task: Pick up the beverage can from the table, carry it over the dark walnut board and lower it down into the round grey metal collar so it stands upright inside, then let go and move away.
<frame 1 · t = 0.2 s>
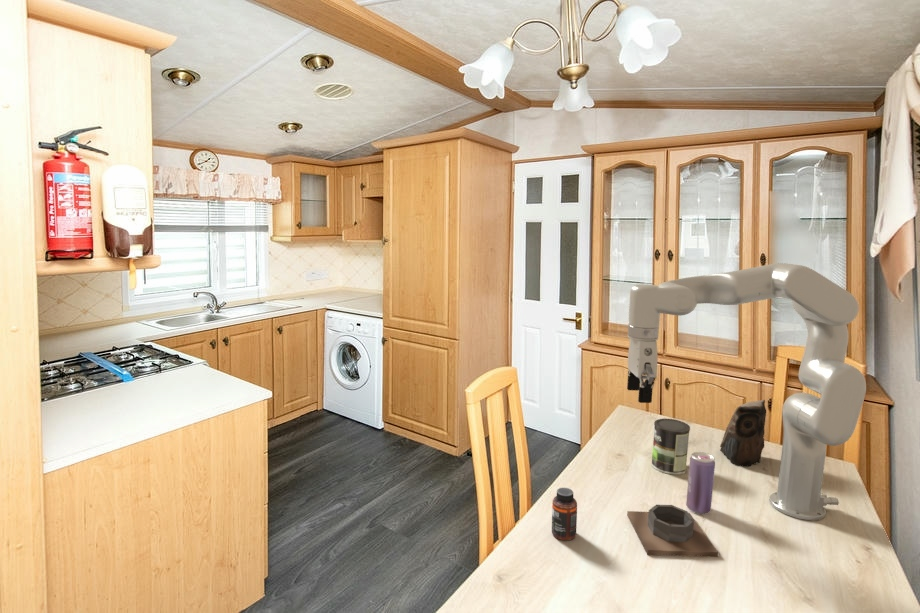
hand: (638, 396, 133), 31 cm above the table, tool pointing down, fingers open, 9 cm apart
supplement bottle: (563, 535, 124), on the table
owl: (739, 458, 166), on the table
coffee can: (668, 467, 159), on the table
can holder: (669, 534, 124), on the table
beverage can: (698, 509, 135), on the table
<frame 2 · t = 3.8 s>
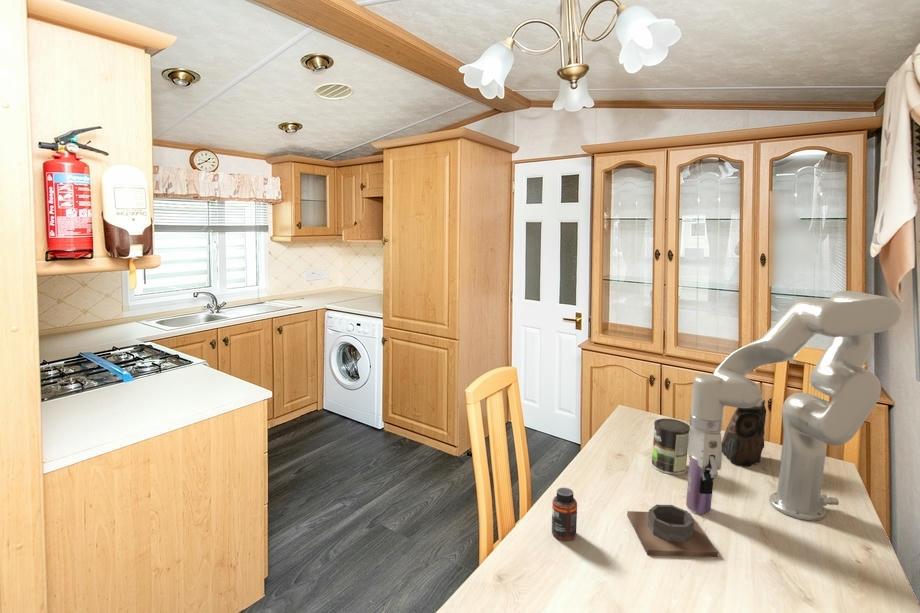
hand: (700, 486, 134), 7 cm above the table, tool pointing down, fingers closed on beverage can, 5 cm apart
beverage can: (698, 509, 135), on the table, touching gripper
everything else where it was.
when the fingers open (9 cm above the table, at t = 10.7 s): beverage can drops 2 cm, resting on can holder.
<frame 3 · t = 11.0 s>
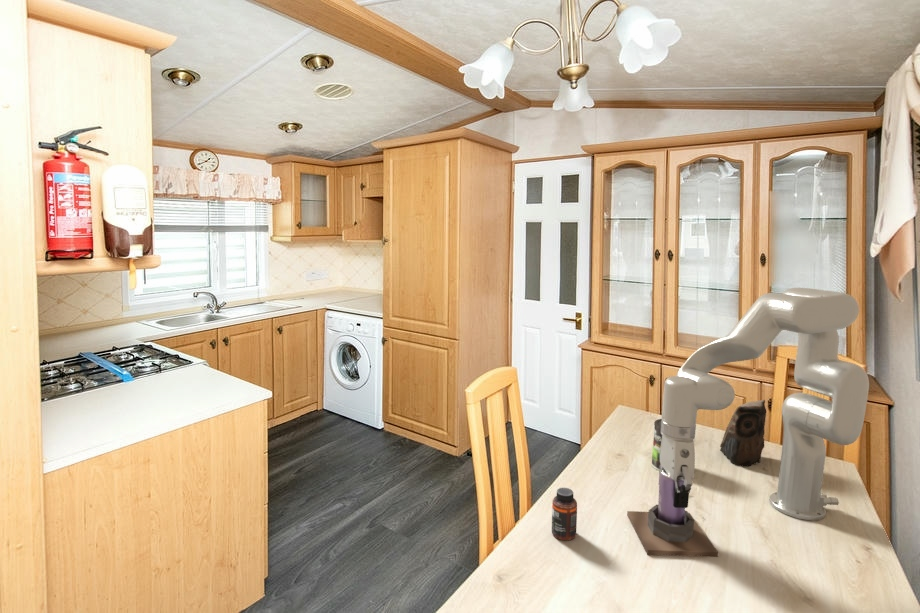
hand: (672, 496, 122), 10 cm above the table, tool pointing down, fingers open, 9 cm apart
beverage can: (670, 530, 124), point 1 cm above the table, touching can holder
everything else where it was.
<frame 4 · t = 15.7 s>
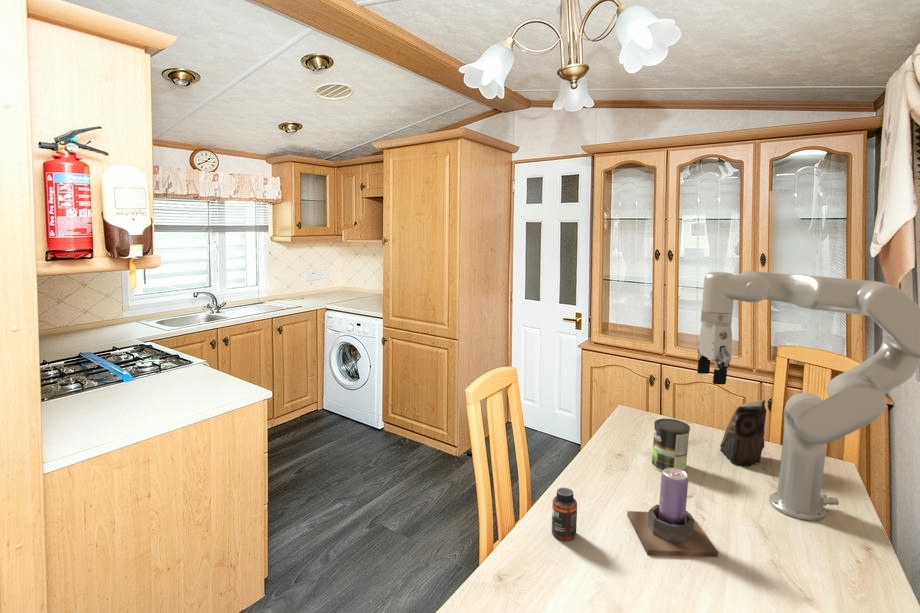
hand: (710, 378, 140), 33 cm above the table, tool pointing down, fingers open, 9 cm apart
nothing on the table moved.
at the end: beverage can 0.2 cm from the can holder (horizontally); beverage can 0.2 cm off-centre on the can holder, point 1.0 cm above the can holder's base; beverage can tilted 0° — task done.
